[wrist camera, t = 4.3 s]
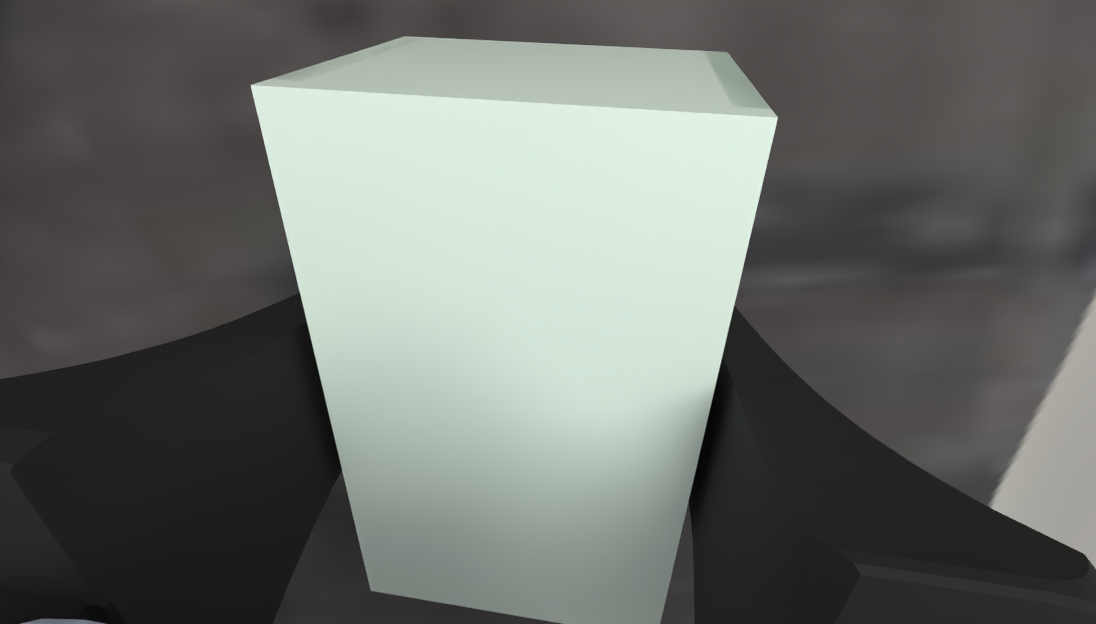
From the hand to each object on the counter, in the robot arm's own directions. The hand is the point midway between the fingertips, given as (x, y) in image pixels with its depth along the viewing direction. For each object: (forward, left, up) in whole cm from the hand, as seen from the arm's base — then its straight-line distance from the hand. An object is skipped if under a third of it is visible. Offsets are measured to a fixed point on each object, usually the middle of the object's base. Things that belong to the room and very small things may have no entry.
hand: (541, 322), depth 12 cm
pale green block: (0, 0, -2) cm, 2 cm away
